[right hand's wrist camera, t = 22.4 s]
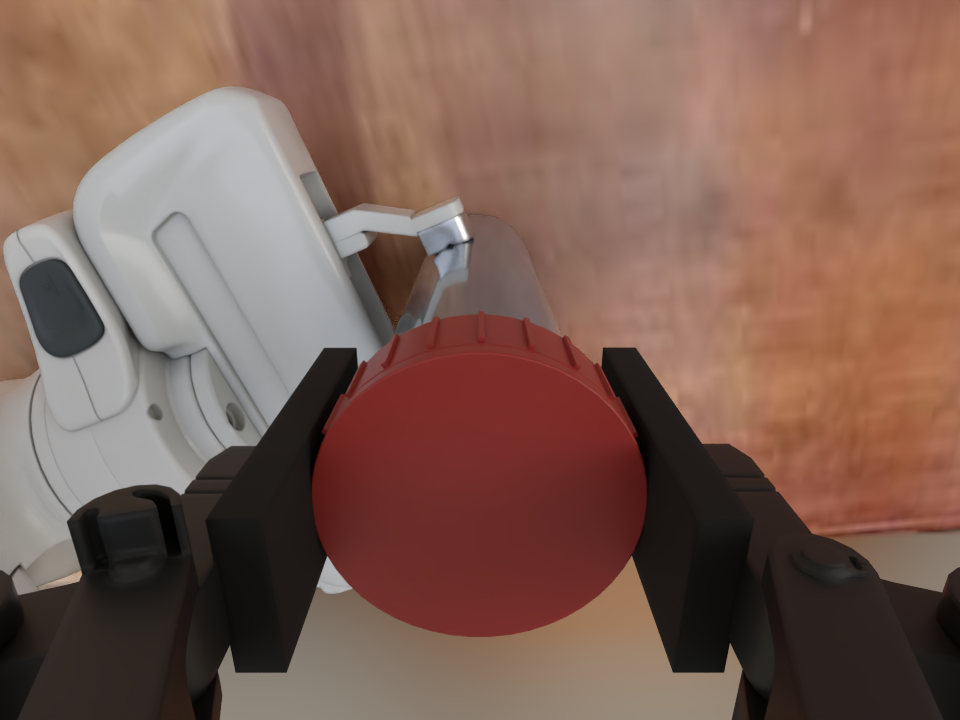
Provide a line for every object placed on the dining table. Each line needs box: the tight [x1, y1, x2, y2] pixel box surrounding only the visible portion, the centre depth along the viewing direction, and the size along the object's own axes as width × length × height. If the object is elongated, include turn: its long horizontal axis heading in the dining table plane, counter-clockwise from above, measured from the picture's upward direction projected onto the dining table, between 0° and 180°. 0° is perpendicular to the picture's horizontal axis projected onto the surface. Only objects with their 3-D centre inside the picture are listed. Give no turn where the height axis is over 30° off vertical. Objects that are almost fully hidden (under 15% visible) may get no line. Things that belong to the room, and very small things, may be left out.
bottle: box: [393, 214, 563, 338], centre depth 21 cm, size 5×5×18 cm
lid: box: [311, 311, 648, 637], centre depth 11 cm, size 6×6×2 cm
